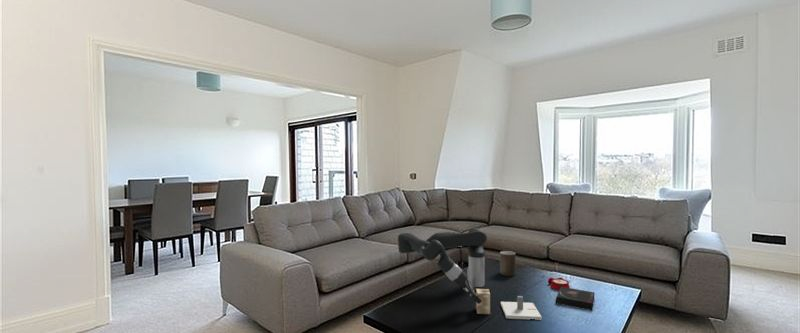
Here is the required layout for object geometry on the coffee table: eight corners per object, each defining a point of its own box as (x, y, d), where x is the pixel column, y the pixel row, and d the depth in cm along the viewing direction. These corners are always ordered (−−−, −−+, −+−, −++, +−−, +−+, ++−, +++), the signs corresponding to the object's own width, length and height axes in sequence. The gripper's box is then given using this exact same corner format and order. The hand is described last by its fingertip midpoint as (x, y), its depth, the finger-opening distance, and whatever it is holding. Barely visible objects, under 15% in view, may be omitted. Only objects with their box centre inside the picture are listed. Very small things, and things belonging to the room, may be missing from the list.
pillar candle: (516, 276, 229) (516, 253, 229) (500, 275, 231) (500, 252, 231) (514, 272, 239) (514, 249, 239) (499, 271, 241) (499, 248, 241)
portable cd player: (559, 293, 203) (559, 286, 203) (594, 299, 194) (594, 292, 194) (555, 304, 189) (555, 296, 189) (592, 311, 180) (592, 303, 180)
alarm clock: (556, 285, 204) (545, 271, 218) (555, 295, 206) (544, 280, 220) (574, 285, 204) (562, 271, 219) (573, 295, 206) (560, 280, 220)
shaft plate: (506, 318, 171) (506, 302, 171) (500, 304, 187) (500, 290, 187) (541, 320, 170) (541, 304, 169) (532, 305, 186) (533, 291, 185)
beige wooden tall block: (477, 313, 177) (477, 292, 176) (476, 308, 183) (476, 288, 182) (489, 314, 176) (490, 293, 176) (488, 308, 182) (488, 288, 182)
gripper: (450, 274, 187) (472, 298, 186) (450, 284, 173) (475, 310, 172) (461, 265, 186) (483, 288, 185) (462, 274, 172) (486, 299, 171)
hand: (479, 298), depth 179 cm, fingers open, 8 cm apart
